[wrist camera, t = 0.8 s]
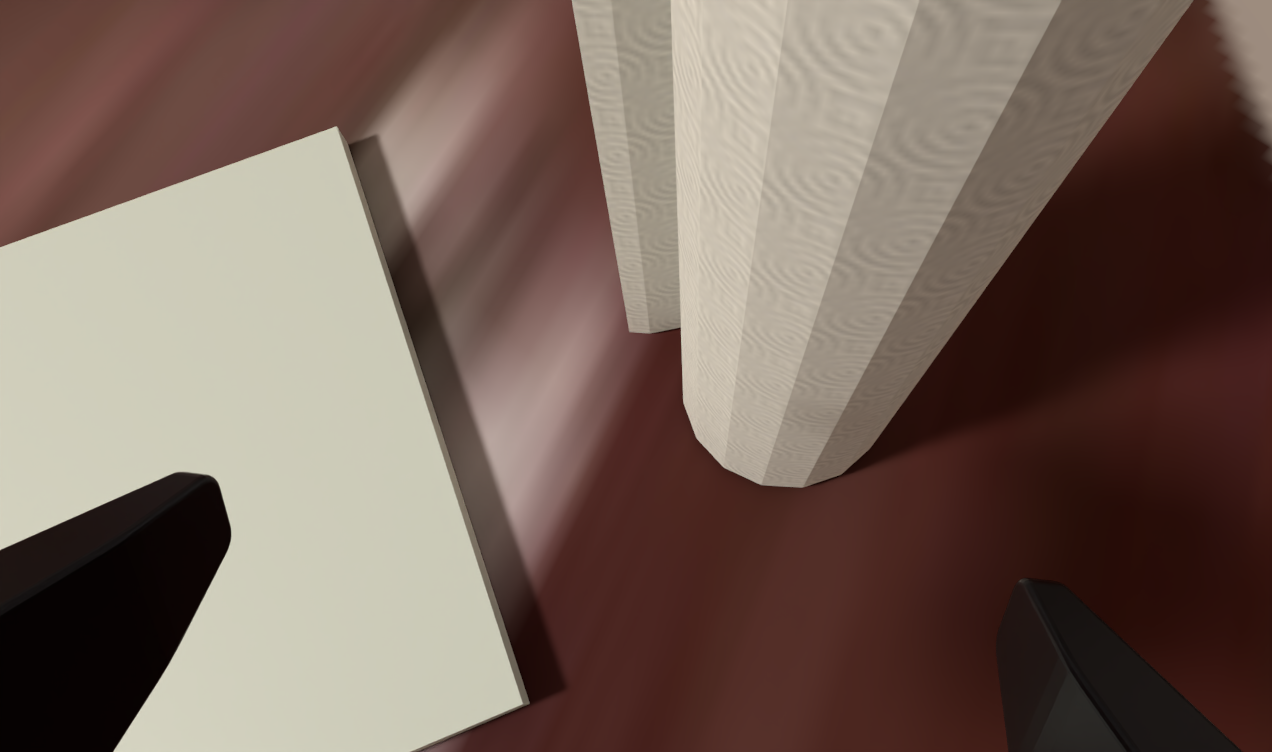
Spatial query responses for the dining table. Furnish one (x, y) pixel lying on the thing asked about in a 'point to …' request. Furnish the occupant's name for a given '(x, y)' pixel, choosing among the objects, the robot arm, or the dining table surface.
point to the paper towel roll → (834, 189)
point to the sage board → (259, 455)
